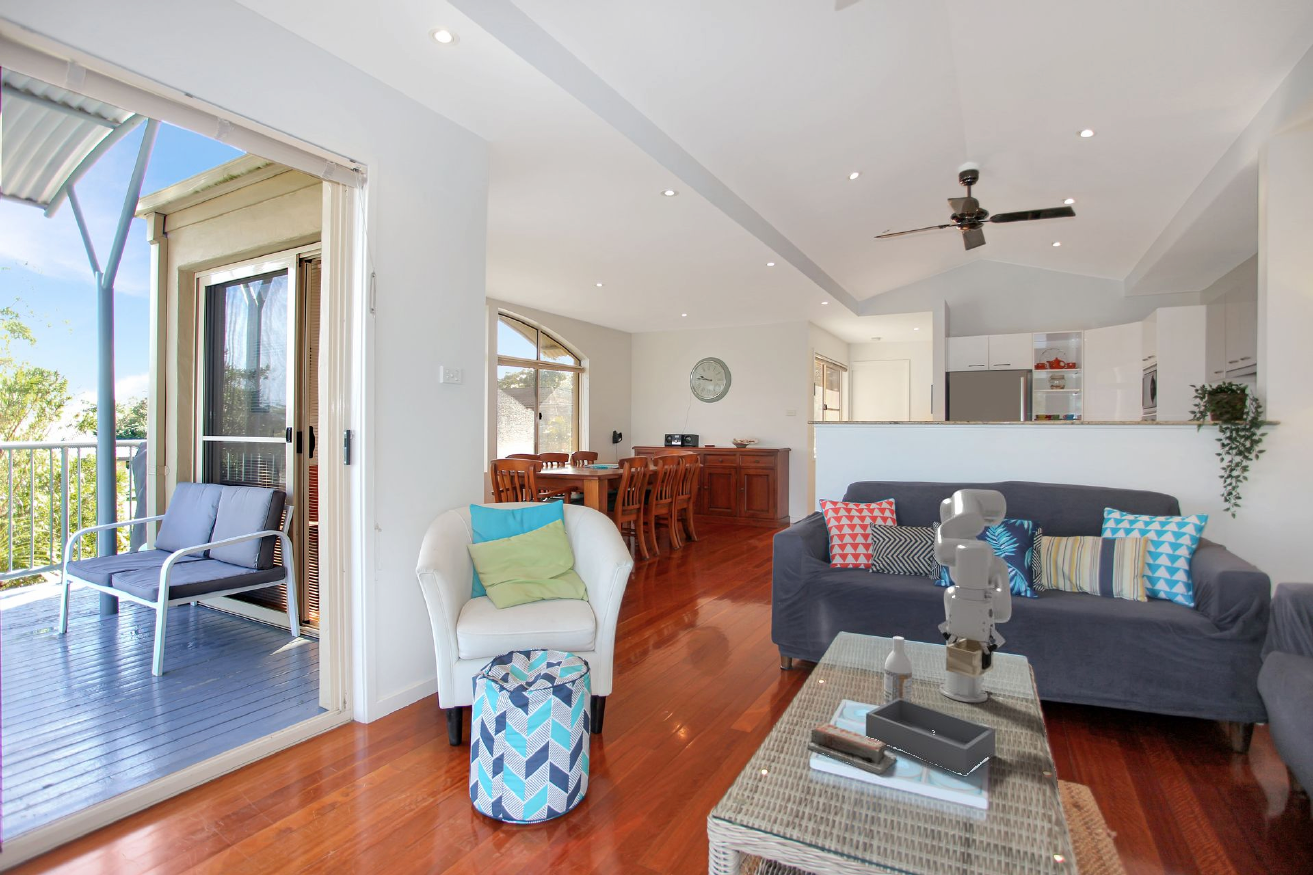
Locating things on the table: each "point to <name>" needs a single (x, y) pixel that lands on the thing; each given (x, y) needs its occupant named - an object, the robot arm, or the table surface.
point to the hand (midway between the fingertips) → (969, 663)
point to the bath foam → (897, 673)
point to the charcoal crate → (931, 735)
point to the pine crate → (966, 658)
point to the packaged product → (851, 748)
